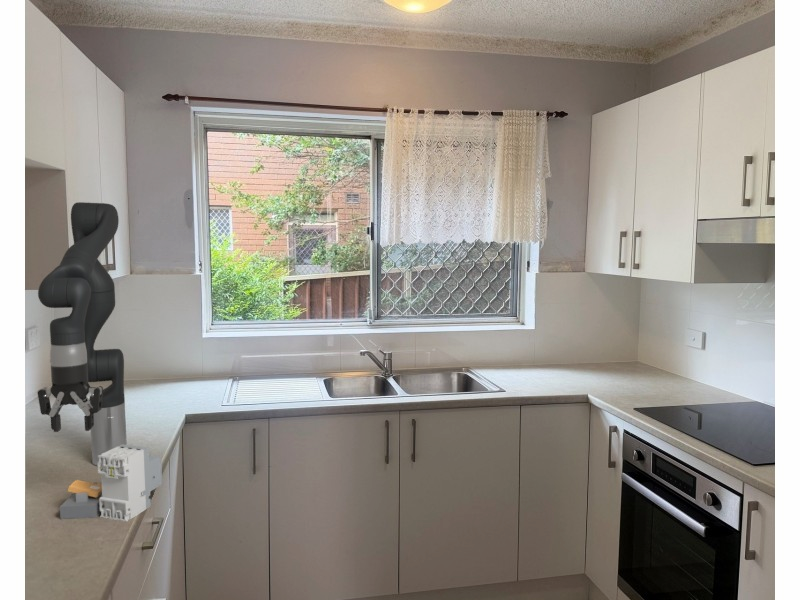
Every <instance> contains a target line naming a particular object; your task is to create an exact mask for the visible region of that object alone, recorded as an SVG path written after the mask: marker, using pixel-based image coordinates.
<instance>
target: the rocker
mask: <svg viewBox="0 0 800 600" xmlns="http://www.w3.org/2000/svg"><path fill="white" fill-rule="evenodd" d="M94 483H95V482H88V481H84V480H80V479H76V480H74V481H73V482H72V483H71V484H70V485H69V486H68V490H67V492H70V493H72V494H73V493H87V492H88V496H92V497H98V496H99V495H100V494H101V493H102V484H98V483H97V484H94Z"/></svg>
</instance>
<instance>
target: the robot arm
mask: <svg viewBox="0 0 800 600" xmlns="http://www.w3.org/2000/svg"><path fill="white" fill-rule="evenodd" d="M119 222H120V221H119V213H118V210H117V208H116V207H115V206H114V205H113V204H111V203H103V202H83V201H82V202H81V201H80V202H75V203H73V205H72V207H71V211H70V225H71V231H72V237H73V238H72V240H73V244H72V245H70V247H69V248H68V249H67V250H66V251H65V253H64V255H63V257H62V259H61V261H60V263H59V265H57V266H56V267H55V268H54V269H53V270H52V271H51V272H49V273H48V274H47V275H46V276H45V277H44V278H43V279H42V281H41V282H40V284H39V287H38V290H37V296H38V300H39V302H40V303H41V304H42V305H43V306H45V307H46V308H51V309H63V308H65V309H66V308H67V309H68V308H69V309H71V308H72V309H71V313H70V314H69V315H68V316H63V317H58V318H55V319H53V320H51V321H50V323H49V336H50V338H49V339H50V352H49V363H50V373H51V375H50V376H51V387H49V388H48V387H42V388H41V389H39V390H37V397H38V404H39V410H40V414H41V415H42V416H43V415H46V416H48V417H49V418H50V428H51V430H53V432H54V433H57V432H59V431H61V430H62V422H61V414H59V413H60V412H61V410H62V408H63V406H66V405H72V406H73V405H77V406H78V408H79V409H81V410H82V412H83V414H84V431H86V432H89V431H90V438H91V439H90V440H91V442H90V443H91V461H92V465H94V466H97V467H98V462H99V457H98V455H102V453H105V452H107V451H109V450H111V449H113V448H115V447H118V446H120V445H122V444H125V445H128V443H127V425H126V424H127V423H126V422H127V421H126V401H125V399H126V398H125V382H124V381H125V378H124V377H125V358H124V353H123V351H122V350H121V349H120V348H107V349H106V348H105V349H94V347H95V343H96V339H97V338H98V336H99V333H100V332H101V330H102V328H103V326H104V325H105V324H106V322H107V321H108V319H109V318H110V316H111V315H112V314H113V311H114V309H115V307H116V291H115V289H116V287H115V282H114V280H113V278H112V276H111V275H110V273H109V272H108V271H107V269H106V268H105V267H104V266H103V265H102V263H101V262H100V260H99V257H100V256H101V254H102V252H104V250H105V249H106V248H107V247H108V245H109V244H110V243H111V241H112V240H113V238H114V237H115V235H116V233H117V232H118V228H119ZM98 382H99V383H100V382H102V383H103V382H111V384H110V385H108V386H107V387H106V388H104V387H103V386H101V385H100V386H96V387H95V386H91V385H90V384H89V383H98ZM89 393H90V396H89V398H88V394H89ZM51 394H52V396H53V397H54V398H55V400H54V403H53V404H52V406H51V402H50V401H51V400H50V396H51Z"/></svg>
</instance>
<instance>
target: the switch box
mask: <svg viewBox="0 0 800 600" xmlns="http://www.w3.org/2000/svg"><path fill="white" fill-rule="evenodd" d="M93 483H94V484H98V482H93ZM100 497H102V493H101V494H100V495H99V496H98V497H92V496H88V492H87V493H73V492H72V494H71V495H70V496H69V497H68V498H67V499H65V501H64V502H63V503H62V504H61V505H60V506H59V517H60V520H66V519H67V520H68V519H69V520H70V519H87V518H97V517H98V516H100V515H101V511H100V505H99V498H100ZM103 507H104V505H102V508H103Z"/></svg>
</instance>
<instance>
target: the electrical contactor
mask: <svg viewBox="0 0 800 600" xmlns="http://www.w3.org/2000/svg"><path fill="white" fill-rule="evenodd" d="M149 450H150V449H149V447H147V446H139V445H132V444H127V445H125V444H122V445H120V446H118V447H115V448H113V449H111V450H109V451H107V452H105V453H102V455H98V457H99V462H98V466H97V474H100V481H101V485H102V497H100V498H99V505H100V511H101V513H100V515H99V518H101V517H103V518H102V519H107V518H109V519H108V520H113V519H114V520H115V521H119V520H121V521H120V522H125V521H126V523H127V522H128V521H129V520H131V519H133V518H135V517H136V516H138V515H139V514H141V513H143V512H144V511H145V510H147V509H148V508H149V509H150V507H151V506H152V505H151V504H152V503H151V501H152V499H151V498H150V497H151V492H152V491H154V490H155V489H156V488H159V487H161V486H162V485H163V472H162V471H163V470H162V469H163V463H162V455H157V454H151V453H150V452H149ZM101 467H102V468H101ZM102 505H104V507H103V508H102ZM108 516H109V517H108ZM114 520H113V521H114Z"/></svg>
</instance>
